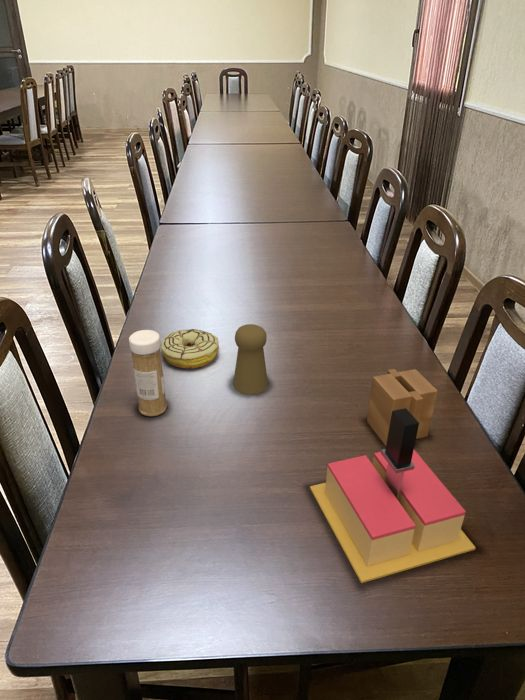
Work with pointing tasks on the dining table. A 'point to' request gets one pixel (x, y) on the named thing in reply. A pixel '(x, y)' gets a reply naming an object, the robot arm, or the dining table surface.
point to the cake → (390, 516)
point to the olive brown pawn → (250, 360)
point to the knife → (399, 448)
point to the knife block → (400, 401)
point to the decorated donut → (189, 348)
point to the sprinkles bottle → (148, 372)
